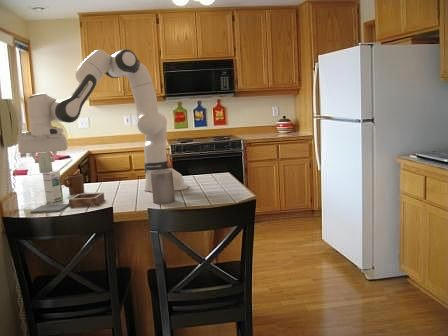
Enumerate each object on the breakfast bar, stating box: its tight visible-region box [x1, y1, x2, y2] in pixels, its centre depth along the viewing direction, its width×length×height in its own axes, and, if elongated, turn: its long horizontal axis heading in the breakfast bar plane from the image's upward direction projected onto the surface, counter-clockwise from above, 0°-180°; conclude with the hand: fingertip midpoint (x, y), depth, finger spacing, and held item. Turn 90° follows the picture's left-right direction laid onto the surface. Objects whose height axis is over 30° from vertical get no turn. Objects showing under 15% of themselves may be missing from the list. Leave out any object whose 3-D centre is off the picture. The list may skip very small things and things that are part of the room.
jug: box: [36, 152, 54, 174], centre depth 217 cm, size 7×5×8 cm
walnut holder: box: [68, 192, 105, 208], centre depth 228 cm, size 12×12×4 cm
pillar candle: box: [151, 169, 176, 205], centre depth 220 cm, size 10×10×15 cm
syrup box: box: [42, 170, 64, 203], centre depth 239 cm, size 6×6×14 cm
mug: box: [62, 173, 85, 195], centre depth 255 cm, size 12×8×9 cm, turn 153°
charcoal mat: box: [29, 203, 70, 214], centre depth 221 cm, size 13×12×1 cm
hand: (45, 162), depth 218 cm, fingers closed on jug, 5 cm apart
